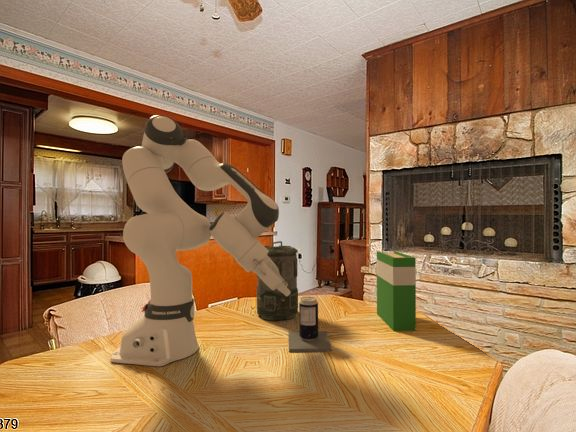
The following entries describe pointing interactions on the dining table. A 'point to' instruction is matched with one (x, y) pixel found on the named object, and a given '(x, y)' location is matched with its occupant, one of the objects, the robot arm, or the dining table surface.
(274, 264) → the robot arm
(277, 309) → the canister
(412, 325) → the hardback book
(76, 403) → the dining table surface
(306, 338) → the beverage can
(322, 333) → the mat
